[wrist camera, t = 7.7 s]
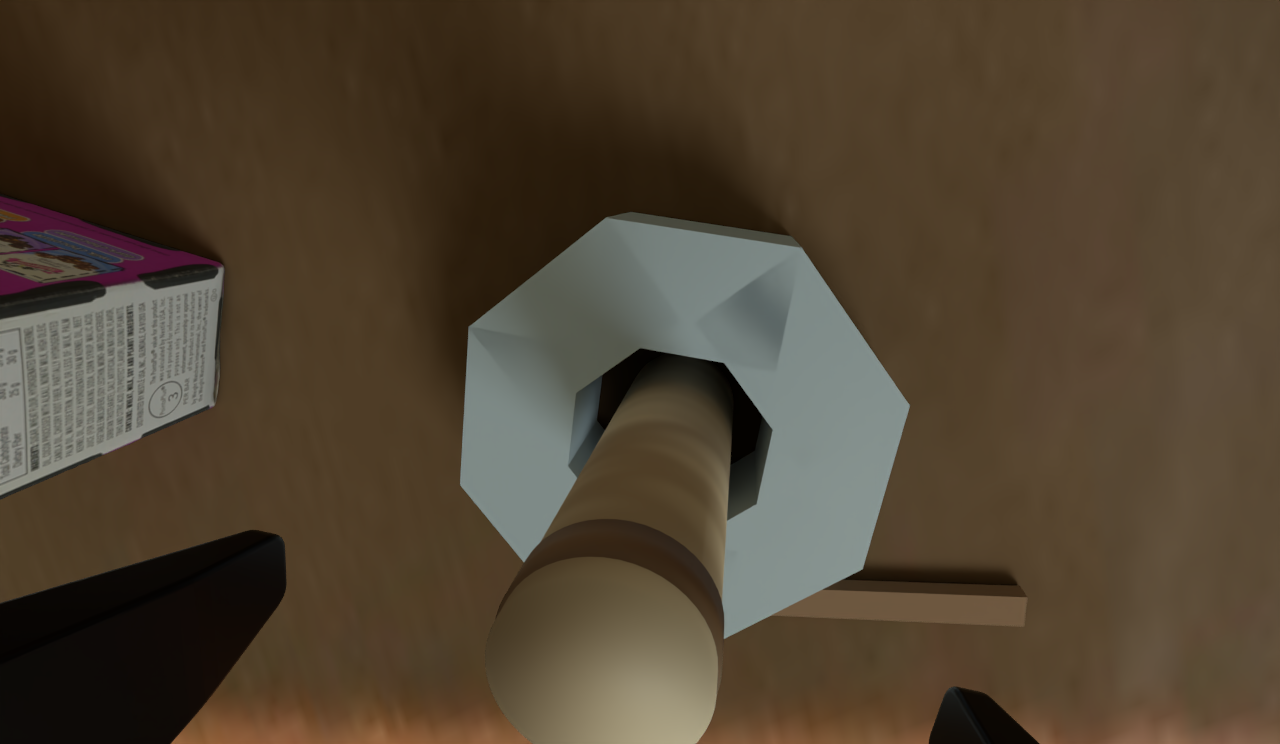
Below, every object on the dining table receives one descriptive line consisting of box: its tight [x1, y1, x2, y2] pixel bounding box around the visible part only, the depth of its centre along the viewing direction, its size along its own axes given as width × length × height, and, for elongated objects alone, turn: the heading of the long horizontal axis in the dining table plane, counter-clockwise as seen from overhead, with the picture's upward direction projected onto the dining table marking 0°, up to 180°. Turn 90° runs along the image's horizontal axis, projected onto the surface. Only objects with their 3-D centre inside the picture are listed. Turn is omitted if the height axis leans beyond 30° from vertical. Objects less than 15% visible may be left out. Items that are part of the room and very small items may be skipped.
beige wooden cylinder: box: [485, 353, 734, 744], centre depth 12 cm, size 3×3×10 cm
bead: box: [460, 212, 910, 639], centre depth 15 cm, size 10×10×3 cm
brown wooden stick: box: [773, 580, 1028, 627], centre depth 18 cm, size 12×1×1 cm, turn 95°
